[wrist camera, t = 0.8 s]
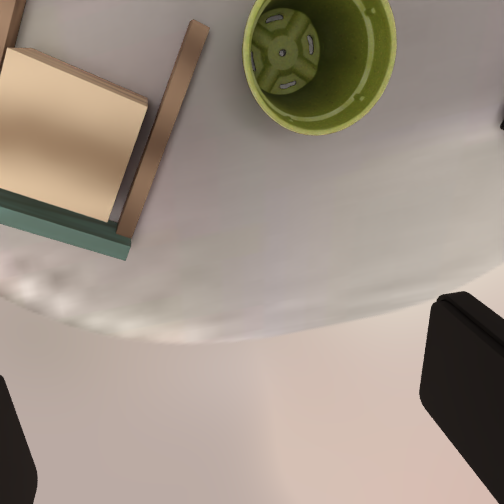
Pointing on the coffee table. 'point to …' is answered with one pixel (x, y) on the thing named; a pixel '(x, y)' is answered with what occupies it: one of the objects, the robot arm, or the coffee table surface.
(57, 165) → the bay
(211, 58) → the coffee table surface
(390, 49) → the plant pot
